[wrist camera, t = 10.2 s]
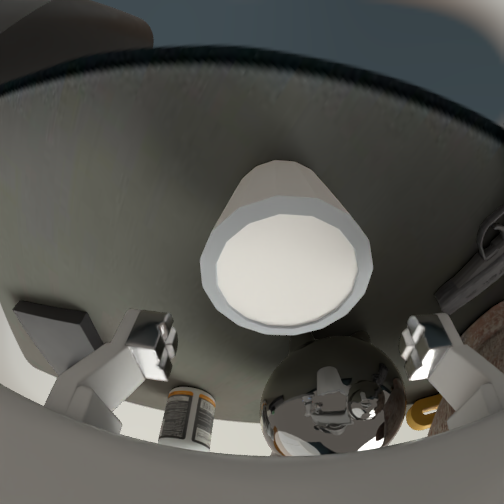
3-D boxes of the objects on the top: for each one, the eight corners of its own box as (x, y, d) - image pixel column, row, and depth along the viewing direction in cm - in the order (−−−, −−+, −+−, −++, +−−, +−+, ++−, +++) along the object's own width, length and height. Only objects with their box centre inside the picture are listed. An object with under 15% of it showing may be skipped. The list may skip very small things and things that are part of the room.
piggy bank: (254, 389, 28) (249, 487, 19) (272, 286, 20) (271, 446, 10) (351, 390, 28) (364, 481, 19) (409, 294, 20) (460, 421, 10)
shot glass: (200, 187, 16) (163, 253, 10) (304, 127, 14) (331, 159, 8) (261, 269, 19) (257, 353, 13) (354, 224, 17) (392, 300, 11)
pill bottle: (170, 400, 32) (154, 468, 23) (169, 380, 28) (150, 459, 20) (213, 409, 32) (204, 479, 24) (219, 390, 29) (208, 471, 21)
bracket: (478, 384, 30) (502, 355, 26) (486, 405, 27) (513, 378, 22) (403, 408, 32) (424, 380, 27) (409, 433, 28) (433, 410, 23)
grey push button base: (19, 300, 24) (4, 320, 21) (87, 312, 23) (71, 338, 20) (70, 375, 32) (61, 394, 29) (133, 391, 31) (126, 413, 29)
